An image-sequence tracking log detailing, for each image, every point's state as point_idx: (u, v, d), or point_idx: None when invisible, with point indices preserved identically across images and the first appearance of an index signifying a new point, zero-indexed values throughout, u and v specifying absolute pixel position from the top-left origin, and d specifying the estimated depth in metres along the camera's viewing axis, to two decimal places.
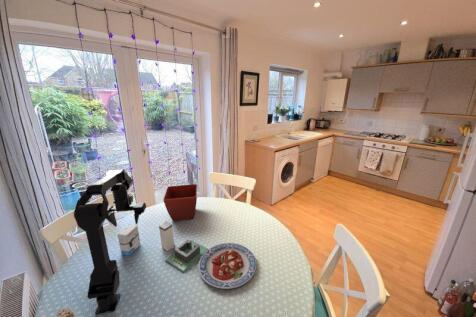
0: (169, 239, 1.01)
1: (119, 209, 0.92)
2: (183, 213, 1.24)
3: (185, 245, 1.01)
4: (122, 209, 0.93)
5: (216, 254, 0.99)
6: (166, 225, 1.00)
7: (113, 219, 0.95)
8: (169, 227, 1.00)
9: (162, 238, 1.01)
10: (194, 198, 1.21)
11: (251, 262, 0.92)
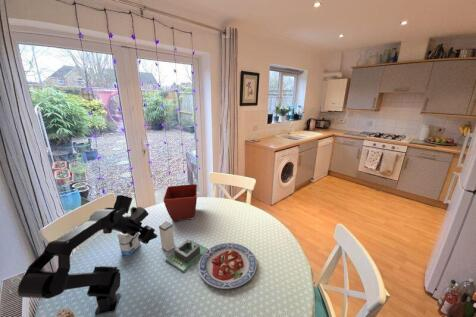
0: (169, 239, 1.01)
1: (128, 233, 0.85)
2: (183, 213, 1.24)
3: (185, 245, 1.01)
4: (130, 234, 0.85)
5: (216, 254, 0.99)
6: (166, 225, 1.00)
7: None
8: (169, 227, 1.00)
9: (162, 238, 1.01)
10: (194, 198, 1.21)
11: (251, 262, 0.92)
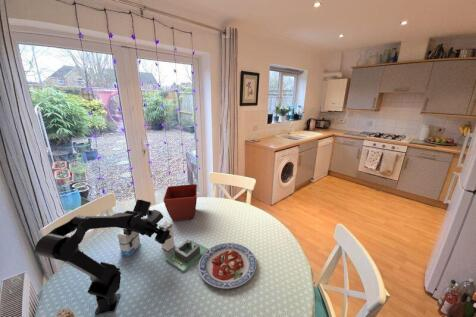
0: (169, 239, 1.01)
1: None
2: (183, 213, 1.24)
3: (185, 245, 1.01)
4: (147, 235, 0.92)
5: (216, 254, 0.99)
6: (166, 225, 1.00)
7: None
8: (169, 227, 1.00)
9: None
10: (194, 198, 1.21)
11: (251, 262, 0.92)
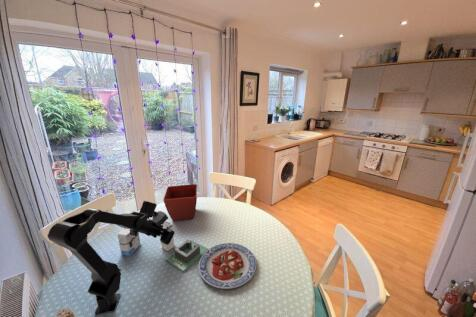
0: None
1: None
2: (183, 213, 1.24)
3: (185, 245, 1.01)
4: None
5: (216, 254, 0.99)
6: (166, 225, 1.00)
7: None
8: (169, 227, 1.00)
9: None
10: (194, 198, 1.21)
11: (251, 262, 0.92)
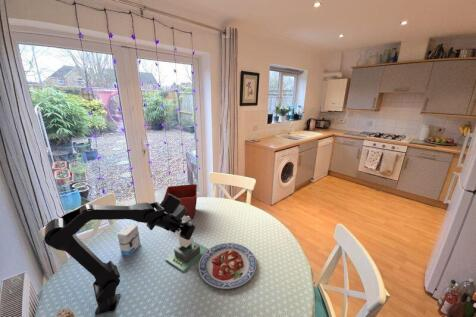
0: None
1: (169, 230, 0.87)
2: None
3: None
4: (171, 231, 0.87)
5: (216, 254, 0.99)
6: (185, 219, 0.93)
7: None
8: (188, 221, 0.93)
9: None
10: (194, 198, 1.21)
11: (251, 262, 0.92)
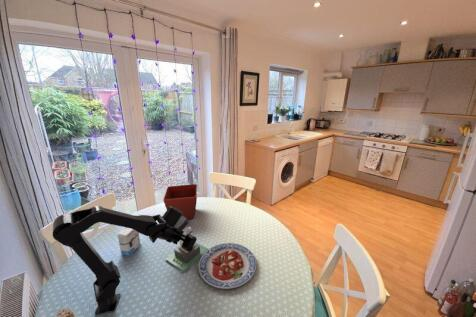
0: None
1: None
2: (183, 213, 1.24)
3: None
4: (173, 242, 0.88)
5: (216, 254, 0.99)
6: (186, 231, 0.94)
7: None
8: (189, 233, 0.94)
9: None
10: (194, 198, 1.21)
11: (251, 262, 0.92)
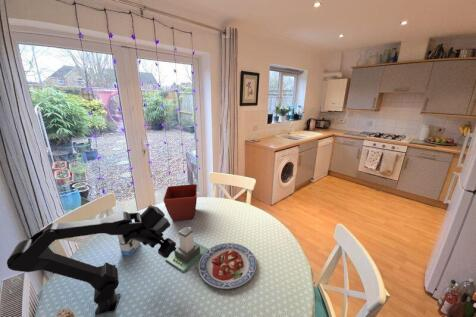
0: (189, 246, 0.95)
1: None
2: (183, 213, 1.24)
3: None
4: (149, 245, 0.80)
5: (216, 254, 0.99)
6: (186, 231, 0.94)
7: None
8: (189, 233, 0.94)
9: (182, 245, 0.95)
10: (194, 198, 1.21)
11: (251, 262, 0.92)
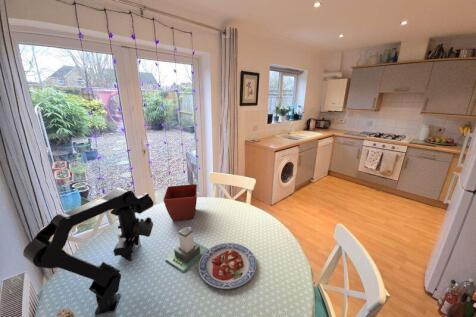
0: (189, 246, 0.95)
1: None
2: (183, 213, 1.24)
3: None
4: None
5: (216, 254, 0.99)
6: (186, 231, 0.94)
7: (133, 236, 0.86)
8: (189, 233, 0.94)
9: (182, 245, 0.95)
10: (194, 198, 1.21)
11: (251, 262, 0.92)
